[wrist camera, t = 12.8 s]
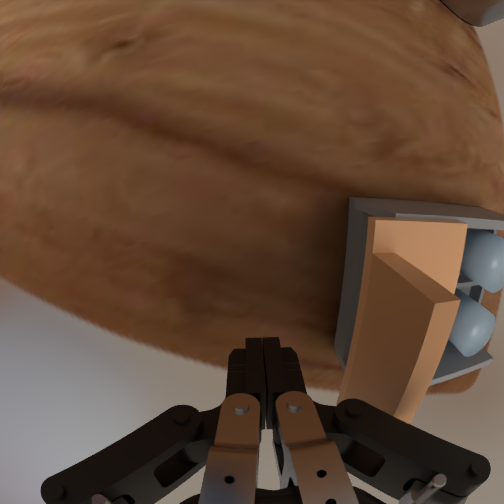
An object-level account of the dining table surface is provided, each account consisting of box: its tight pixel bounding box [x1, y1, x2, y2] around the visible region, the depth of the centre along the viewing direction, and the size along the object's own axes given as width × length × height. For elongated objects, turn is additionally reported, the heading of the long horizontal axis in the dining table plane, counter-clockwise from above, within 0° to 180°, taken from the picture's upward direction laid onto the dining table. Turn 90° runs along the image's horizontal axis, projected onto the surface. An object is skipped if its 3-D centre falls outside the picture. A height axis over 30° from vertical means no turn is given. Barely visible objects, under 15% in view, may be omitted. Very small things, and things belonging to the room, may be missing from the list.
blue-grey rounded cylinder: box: [460, 228, 504, 293], centre depth 16 cm, size 4×4×5 cm
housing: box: [333, 197, 504, 386], centre depth 17 cm, size 14×12×7 cm
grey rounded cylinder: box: [448, 288, 495, 357], centre depth 18 cm, size 4×4×5 cm
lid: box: [337, 217, 468, 424], centre depth 11 cm, size 6×12×6 cm, turn 1°
